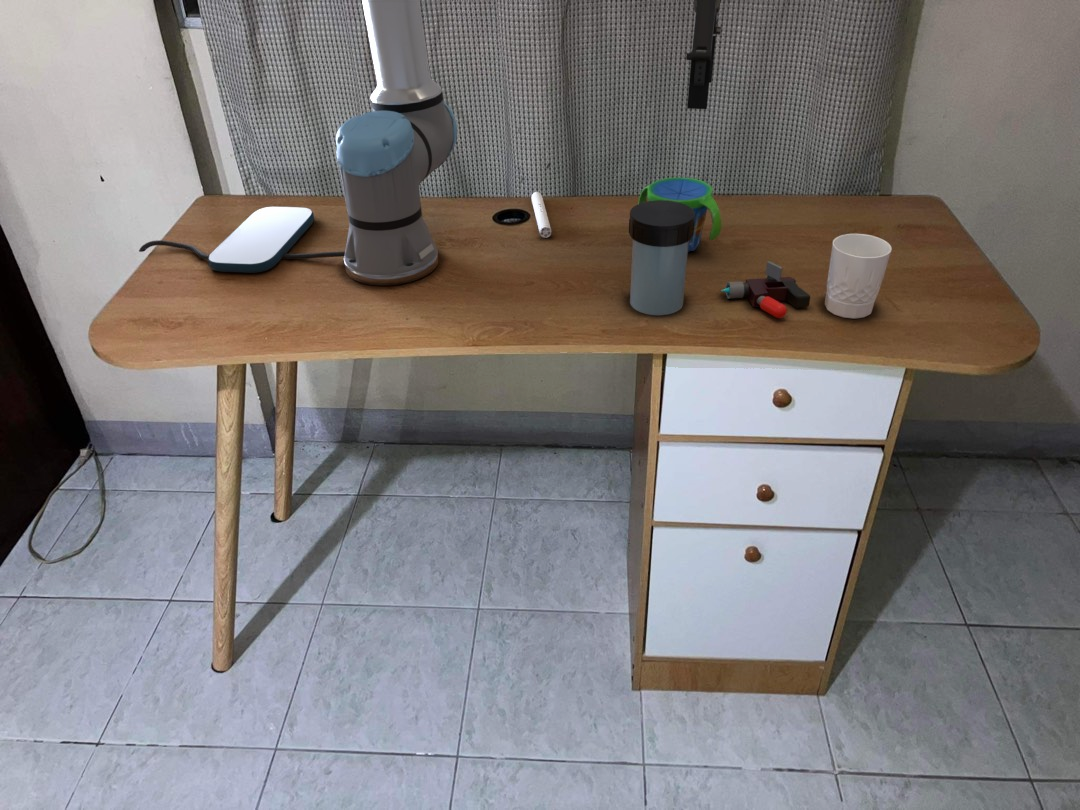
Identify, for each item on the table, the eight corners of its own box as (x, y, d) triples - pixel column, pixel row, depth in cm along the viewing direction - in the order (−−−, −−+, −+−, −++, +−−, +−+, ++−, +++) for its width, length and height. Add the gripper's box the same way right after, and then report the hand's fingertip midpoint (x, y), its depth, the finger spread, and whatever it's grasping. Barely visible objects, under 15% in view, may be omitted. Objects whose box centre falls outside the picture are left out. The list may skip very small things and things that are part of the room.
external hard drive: (269, 276, 135) (266, 265, 134) (203, 273, 137) (199, 262, 136) (320, 217, 154) (318, 207, 153) (261, 215, 156) (259, 205, 155)
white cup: (814, 295, 126) (826, 233, 120) (867, 294, 125) (882, 233, 120) (827, 321, 119) (840, 257, 113) (883, 321, 119) (899, 257, 113)
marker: (530, 199, 159) (529, 187, 158) (541, 198, 159) (540, 186, 158) (539, 238, 144) (539, 225, 143) (551, 237, 145) (551, 225, 143)
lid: (626, 245, 116) (627, 224, 114) (631, 218, 123) (632, 198, 121) (692, 248, 114) (694, 227, 112) (694, 221, 122) (695, 201, 120)
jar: (627, 313, 123) (631, 227, 115) (632, 288, 129) (636, 205, 121) (682, 317, 121) (689, 230, 113) (684, 291, 128) (691, 207, 120)
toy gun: (717, 292, 127) (720, 264, 124) (793, 288, 128) (798, 259, 125) (734, 324, 119) (738, 294, 116) (815, 319, 120) (821, 289, 117)
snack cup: (621, 240, 143) (623, 183, 137) (664, 223, 148) (667, 167, 142) (688, 271, 133) (694, 211, 127) (732, 251, 138) (739, 193, 132)
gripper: (742, -59, 98) (722, 121, 111) (745, -84, 118) (728, 72, 131) (678, -59, 100) (666, 119, 112) (692, -84, 119) (680, 71, 132)
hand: (699, 94), depth 121 cm, fingers open, 13 cm apart
